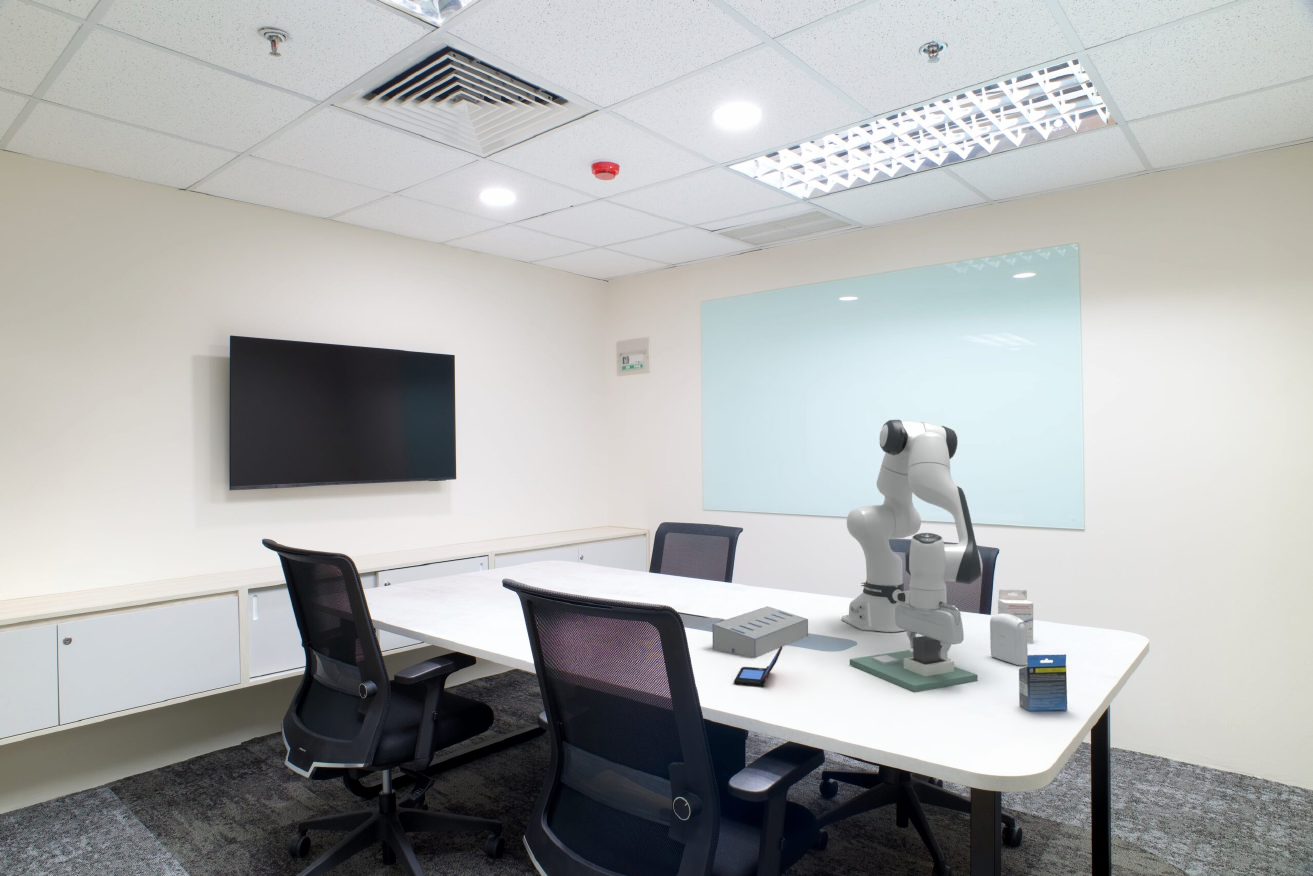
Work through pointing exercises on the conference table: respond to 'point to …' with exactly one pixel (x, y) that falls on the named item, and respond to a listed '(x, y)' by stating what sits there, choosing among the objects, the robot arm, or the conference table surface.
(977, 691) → the conference table surface
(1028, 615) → the ink cartridge box
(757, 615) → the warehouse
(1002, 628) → the photo printer
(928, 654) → the plug
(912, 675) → the board
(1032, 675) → the label tape cartridge
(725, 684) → the conference table surface
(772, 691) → the conference table surface
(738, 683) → the handheld game console
